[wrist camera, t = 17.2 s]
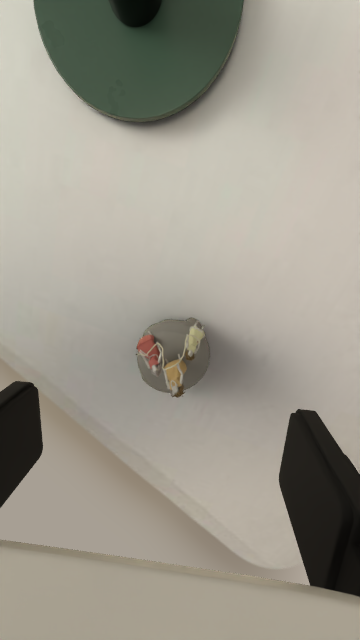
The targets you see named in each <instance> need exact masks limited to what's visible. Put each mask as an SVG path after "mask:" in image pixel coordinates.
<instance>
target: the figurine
mask: <svg viewBox="0 0 360 640" xmlns="http://www.w3.org/2000/svg"><path fill="white" fill-rule="evenodd" d="M204 326H205V325H203V326H201V324H200V322H199V321H198V320H196V319H194V318H189V319H187V320H186V321H179V320H164V321H161V322H159V323H157V324H154V325H151V326H150V327H149V328H148V329H147V330H146V331H145V332H144V334H143V337H142V338H140V340H139V342H138V345H137V349H138V354H136V355H138V357H137V360H138V366H139V369H140V372H141V376H142V379H143V380H144V381H145V382H146V383H147V384H148V385H149V386H151V387H153V388H154V389H156V390H159V391H162V392H167V393H170V394H171V396H172V397H180V396H181V395H182V394H184V393H185V392H182V391H184V390H186V389H188V388H190V387H192V386H193V385H195V384H196V383H197V382H198V381H199V380H200V379H201V378H202V377H203V375H204V374H205V372H206V370H207V368H208V365H209V358H210V351H209V346H208V343H207V341H206V337H205V333H204V331H203V328H204Z"/></svg>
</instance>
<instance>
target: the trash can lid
mask: <svg viewBox="0 0 360 640" xmlns="http://www.w3.org/2000/svg"><path fill="white" fill-rule="evenodd" d="M243 1H244V0H34V9H35V14H36V19H37V24H38V28H39V31H40V34H41V38H42V41H43V44H44V46H45V48H46V51H47V53H48V55H49V57H50V59H51V61H52V63H53V64H54V66H55V68H56V70H57V71H58V73H59V74H60V75H61V77H62V78H63V79H64V81H65V82H66V83H67V85H68V86H69V87H70V88H71V89H72V90H73V91H74V92H75V93H76V94H77V95H78V96H79V98H81V99H82V100H83V101H84V102H86V103H87V104H88V105H89V106H91V107H92V108H94V109H96V110H97V111H99V112H101V113H103V114H105V115H108V116H110V117H112V118H116V119H120V120H123V121H131V122H149V121H154V120H159V119H162V118H165V117H168V116H171V115H173V114H175V113H177V112H179V111H181V110H183V109H185V108H186V107H187V106H189V105H190V104H191V103H193V102H194V101H196V100H197V99H198V98H199V97H200V96H201V95H202V94H203V93H204V92H205V91H206V90H207V89H208V88H209V86H210V85H211V84H212V83H213V82H214V80H215V79H216V77H217V76H218V74H219V73H220V71H221V70H222V68H223V67H224V65H225V63H226V61H227V59H228V57H229V55H230V53H231V50H232V47H233V44H234V42H235V39H236V36H237V32H238V28H239V24H240V20H241V15H242V8H243Z"/></svg>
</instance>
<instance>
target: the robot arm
mask: <svg viewBox="0 0 360 640" xmlns="http://www.w3.org/2000/svg"><path fill="white" fill-rule="evenodd" d="M42 450H43V442H42V431H41V420H40V408H39V397H38V389H37V388H36V387H34V384H33V383H30V382H20V381H15V382H13V383H12V384H11V385H9V386H8V387H6V388H5V389H4V390H2V391H1V392H0V507H1V506H2V505H3V504H4V503H5V501H6V500H7V499H8V497H9V496H10V495H11V494H12V492H13V491H14V490H15V488H16V487H17V486H18V485H19V483H20V482H21V481H22V479H23V478H24V477H25V476H26V474H27V473H28V472H29V470H30V469H31V468H32V467H33V465H34V464H35V463H36V461H37V460H38V459H39V458H40V456H41V453H42ZM279 484H280V488H281V491H282V495H283V498H284V501H285V504H286V508H287V511H288V514H289V518H290V521H291V524H292V527H293V531H294V534H295V537H296V540H297V544H298V547H299V550H300V553H301V557H302V560H303V563H304V566H305V570H306V573H307V576H308V579H309V583H310V586H309V585H302V584H297V583H291V582H285V581H279V580H272V579H266V578H260V577H255V576H249V575H242V574H235V573H229V572H222V571H215V570H209V569H202V568H195V567H188V566H182V565H175V564H168V563H162V562H155V561H148V560H141V559H134V558H126V557H120V556H112V555H106V554H99V553H92V552H85V551H78V550H70V549H64V548H57V547H50V546H43V545H35V544H28V543H21V542H13V541H6V540H0V640H360V474H359V473H358V471H357V470H356V468H355V467H354V465H353V464H352V462H351V461H350V459H349V458H348V457H347V456H346V455H345V454H344V453H343V452H342V450H341V449H340V447H339V446H338V444H337V443H336V441H335V440H334V438H333V437H332V435H331V434H330V432H329V431H328V429H327V428H326V426H325V425H324V423H323V422H322V420H321V419H320V417H319V416H318V414H317V413H316V412H315V411H311V410H301V409H298V410H297V411H296V413H291V415H290V420H289V425H288V430H287V436H286V441H285V446H284V452H283V457H282V462H281V468H280V473H279Z"/></svg>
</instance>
